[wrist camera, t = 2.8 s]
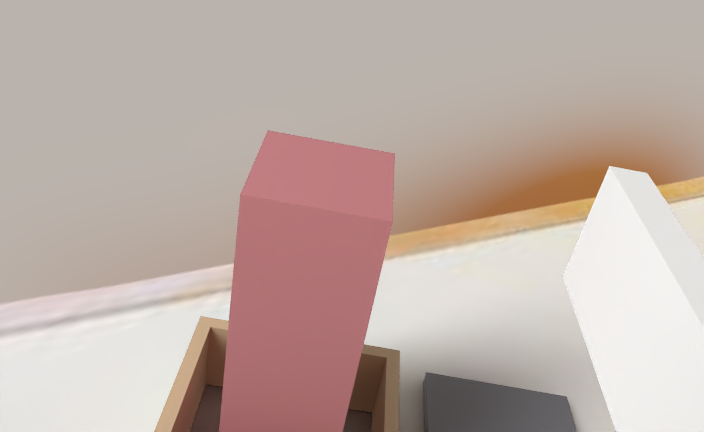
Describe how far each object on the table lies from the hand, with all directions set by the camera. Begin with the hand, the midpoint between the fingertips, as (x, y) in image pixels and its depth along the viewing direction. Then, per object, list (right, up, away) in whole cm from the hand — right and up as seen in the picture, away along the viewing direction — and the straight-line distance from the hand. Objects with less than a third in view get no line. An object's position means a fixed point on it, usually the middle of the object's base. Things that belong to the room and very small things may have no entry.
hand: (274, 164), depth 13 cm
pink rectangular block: (-3, -16, +26) cm, 30 cm away
